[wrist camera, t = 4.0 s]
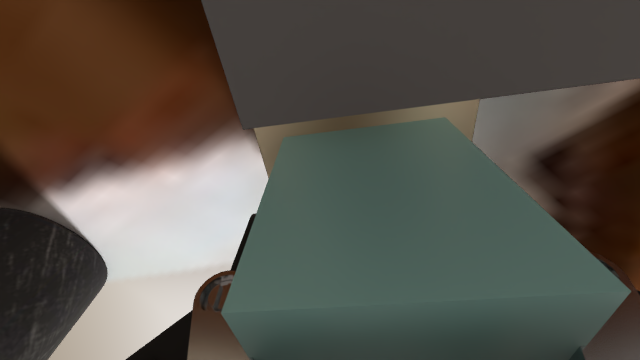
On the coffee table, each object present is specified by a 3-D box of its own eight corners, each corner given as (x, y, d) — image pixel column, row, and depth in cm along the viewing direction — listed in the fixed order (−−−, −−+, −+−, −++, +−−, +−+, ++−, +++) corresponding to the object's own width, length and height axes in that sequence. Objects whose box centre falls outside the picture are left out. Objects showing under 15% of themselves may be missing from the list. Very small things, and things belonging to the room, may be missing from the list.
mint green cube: (445, 117, 9) (631, 290, 3) (430, 235, 12) (517, 428, 6) (283, 137, 9) (221, 313, 4) (309, 245, 12) (293, 429, 7)
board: (526, -264, 5) (555, -304, 5) (446, 227, 13) (453, 240, 12) (176, -173, 6) (156, -196, 5) (292, 240, 13) (290, 252, 13)
